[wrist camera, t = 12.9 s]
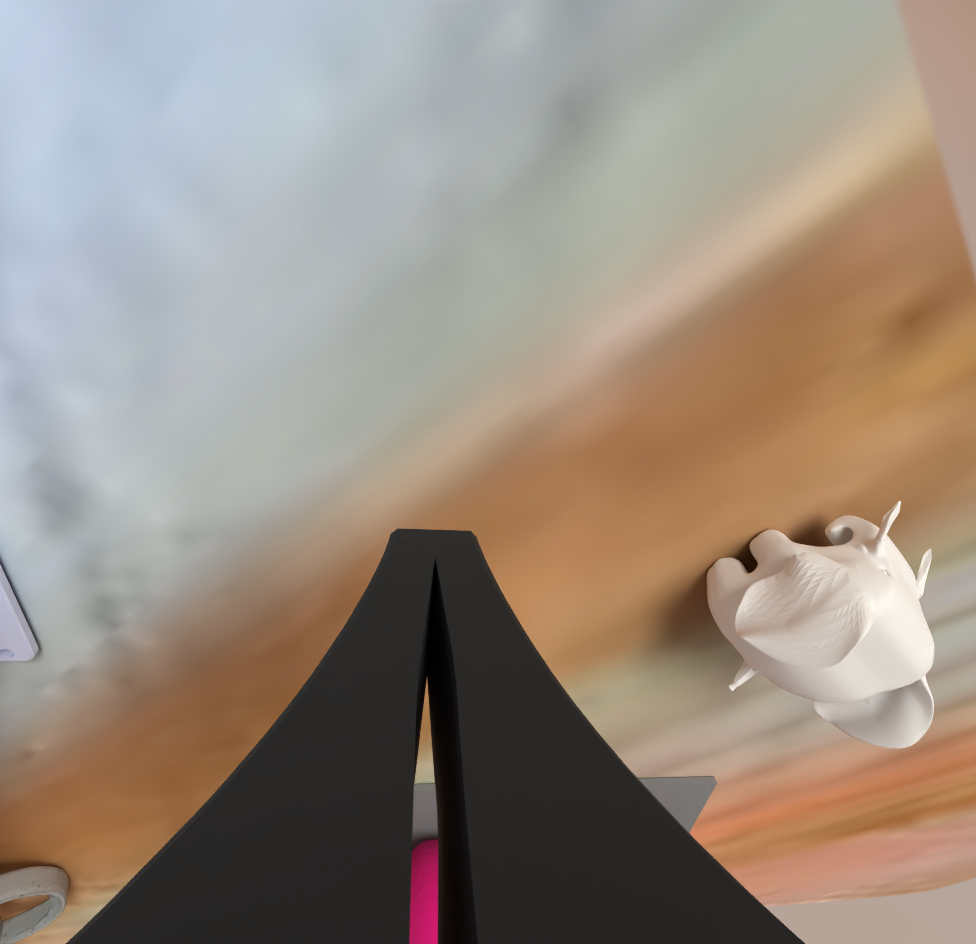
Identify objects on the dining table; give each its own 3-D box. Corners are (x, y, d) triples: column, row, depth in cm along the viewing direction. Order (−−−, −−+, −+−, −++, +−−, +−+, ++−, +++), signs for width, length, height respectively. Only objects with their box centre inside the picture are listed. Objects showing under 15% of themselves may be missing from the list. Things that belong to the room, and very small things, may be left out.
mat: (383, 897, 38) (382, 904, 37) (384, 784, 31) (383, 792, 30) (654, 883, 40) (656, 890, 40) (713, 776, 33) (716, 783, 33)
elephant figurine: (912, 545, 24) (1070, 676, 18) (730, 654, 27) (814, 799, 21) (844, 440, 21) (1009, 558, 15) (645, 577, 24) (716, 722, 18)
